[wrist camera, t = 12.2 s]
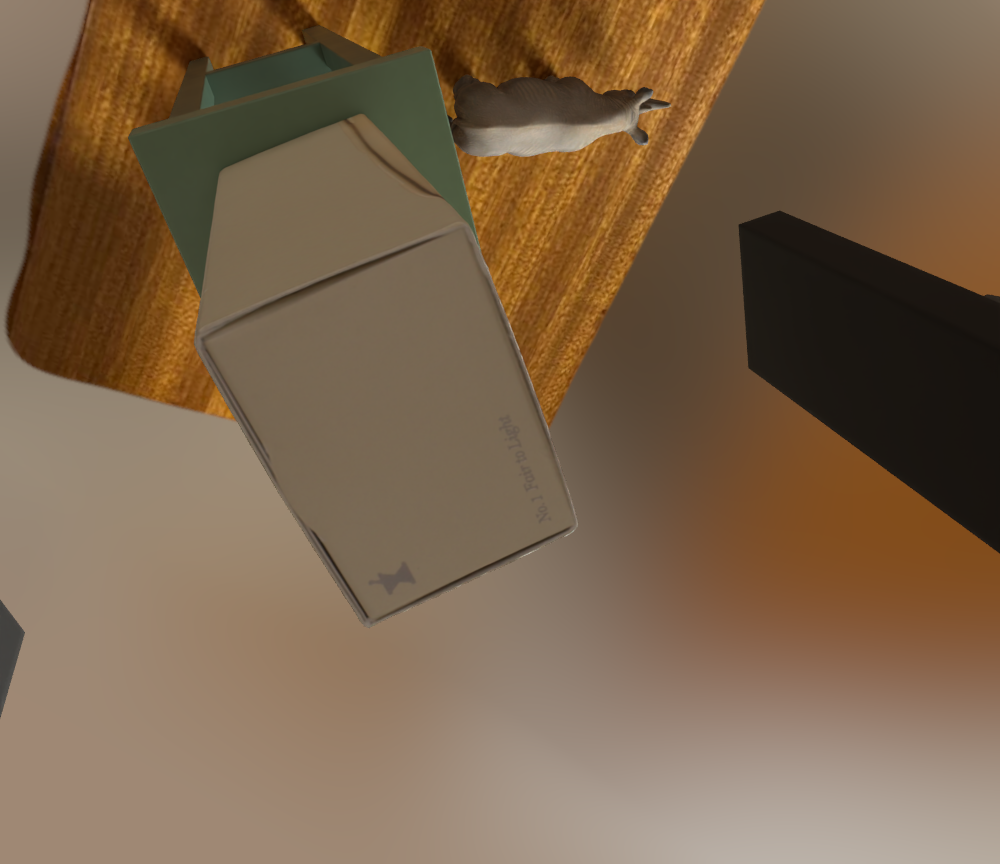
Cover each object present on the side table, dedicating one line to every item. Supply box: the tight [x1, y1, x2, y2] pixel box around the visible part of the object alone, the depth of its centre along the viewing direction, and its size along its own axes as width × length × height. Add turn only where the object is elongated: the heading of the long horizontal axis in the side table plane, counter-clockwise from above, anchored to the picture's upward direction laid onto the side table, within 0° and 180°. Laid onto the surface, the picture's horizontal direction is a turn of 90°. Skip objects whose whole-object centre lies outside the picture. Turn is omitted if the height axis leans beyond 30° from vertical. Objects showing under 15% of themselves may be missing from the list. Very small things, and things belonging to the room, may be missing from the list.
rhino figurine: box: [447, 75, 671, 157], centre depth 46 cm, size 4×14×6 cm, turn 90°
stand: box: [169, 25, 382, 118], centre depth 34 cm, size 7×7×25 cm
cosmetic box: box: [194, 114, 578, 628], centre depth 18 cm, size 6×4×12 cm
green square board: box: [128, 46, 481, 298], centre depth 24 cm, size 8×8×1 cm
